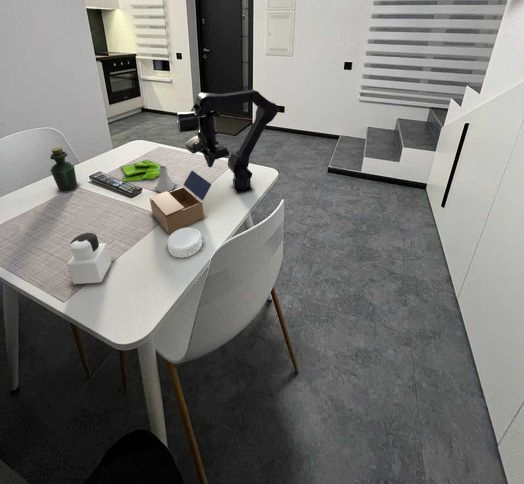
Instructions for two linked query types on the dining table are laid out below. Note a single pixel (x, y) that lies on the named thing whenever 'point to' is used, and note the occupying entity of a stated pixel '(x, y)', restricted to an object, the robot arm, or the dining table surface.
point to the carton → (176, 209)
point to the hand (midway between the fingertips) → (210, 166)
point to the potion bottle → (63, 170)
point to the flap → (197, 185)
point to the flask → (164, 180)
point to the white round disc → (184, 242)
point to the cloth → (141, 171)
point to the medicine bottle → (88, 259)
